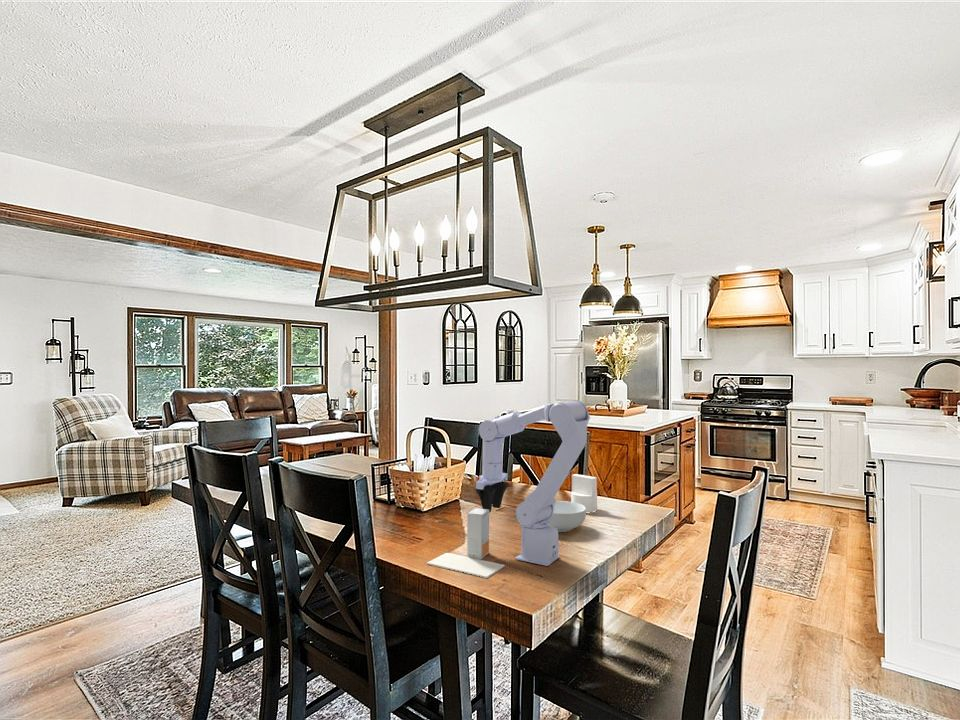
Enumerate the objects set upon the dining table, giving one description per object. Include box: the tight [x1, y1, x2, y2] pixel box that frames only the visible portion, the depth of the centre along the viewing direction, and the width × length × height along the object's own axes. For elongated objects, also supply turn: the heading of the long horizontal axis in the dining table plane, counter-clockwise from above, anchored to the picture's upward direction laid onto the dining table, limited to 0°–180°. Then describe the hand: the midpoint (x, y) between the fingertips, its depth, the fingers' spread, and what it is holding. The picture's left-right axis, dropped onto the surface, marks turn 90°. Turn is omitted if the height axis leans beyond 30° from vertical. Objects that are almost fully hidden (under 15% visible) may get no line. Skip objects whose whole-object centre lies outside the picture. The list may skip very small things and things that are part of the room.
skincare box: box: [466, 507, 490, 560], centre depth 147 cm, size 6×4×12 cm
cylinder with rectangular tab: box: [570, 473, 598, 512], centre depth 193 cm, size 9×9×12 cm
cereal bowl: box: [549, 500, 587, 533], centre depth 172 cm, size 17×17×7 cm
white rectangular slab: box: [426, 552, 506, 579], centre depth 140 cm, size 18×9×1 cm, turn 59°
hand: (491, 509), depth 154 cm, fingers open, 5 cm apart
